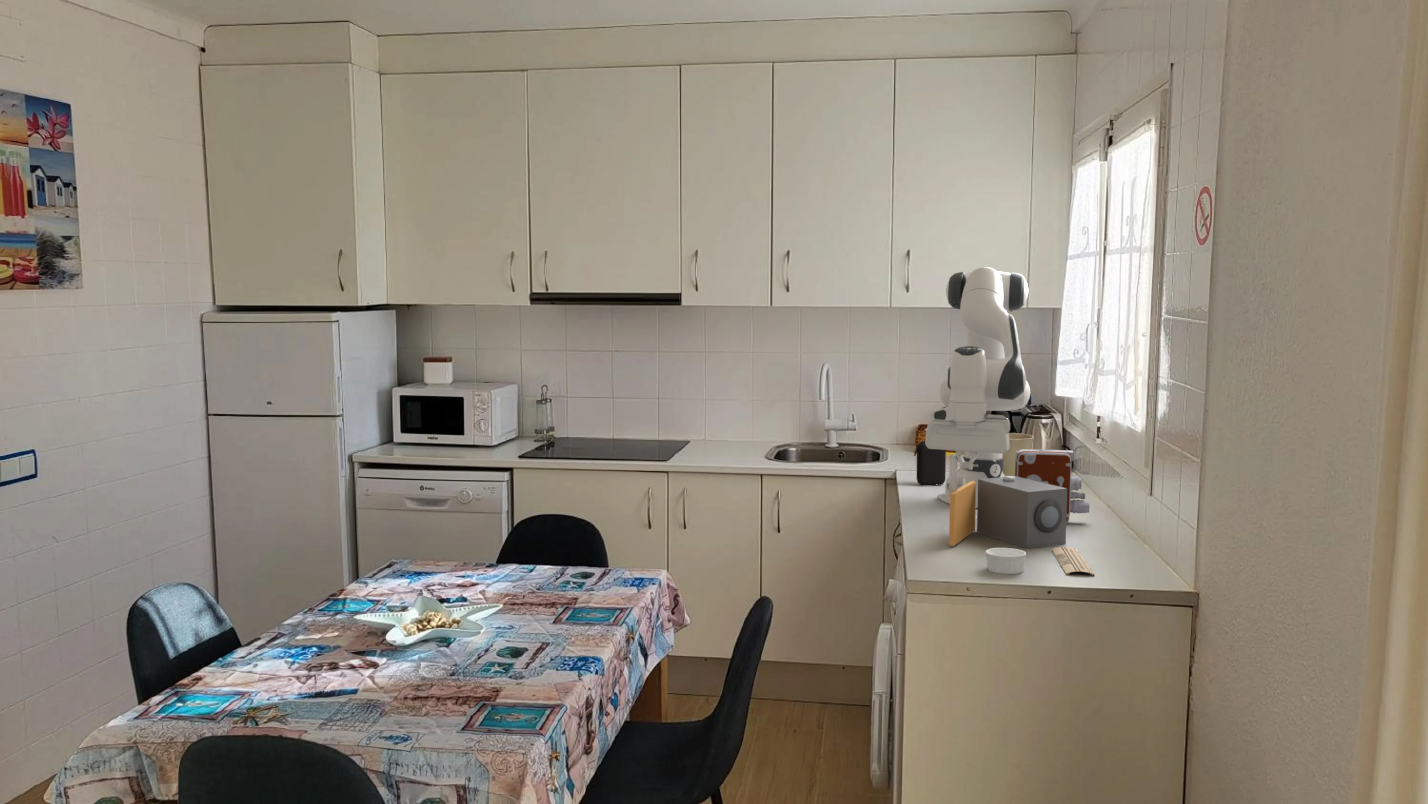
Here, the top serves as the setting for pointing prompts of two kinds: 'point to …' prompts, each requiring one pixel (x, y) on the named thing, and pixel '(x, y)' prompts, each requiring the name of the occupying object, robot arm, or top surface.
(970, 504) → the door
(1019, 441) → the plant pot
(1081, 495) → the cine camera
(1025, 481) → the box
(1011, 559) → the ramekin
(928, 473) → the carrying case or bag
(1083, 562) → the newspaper
